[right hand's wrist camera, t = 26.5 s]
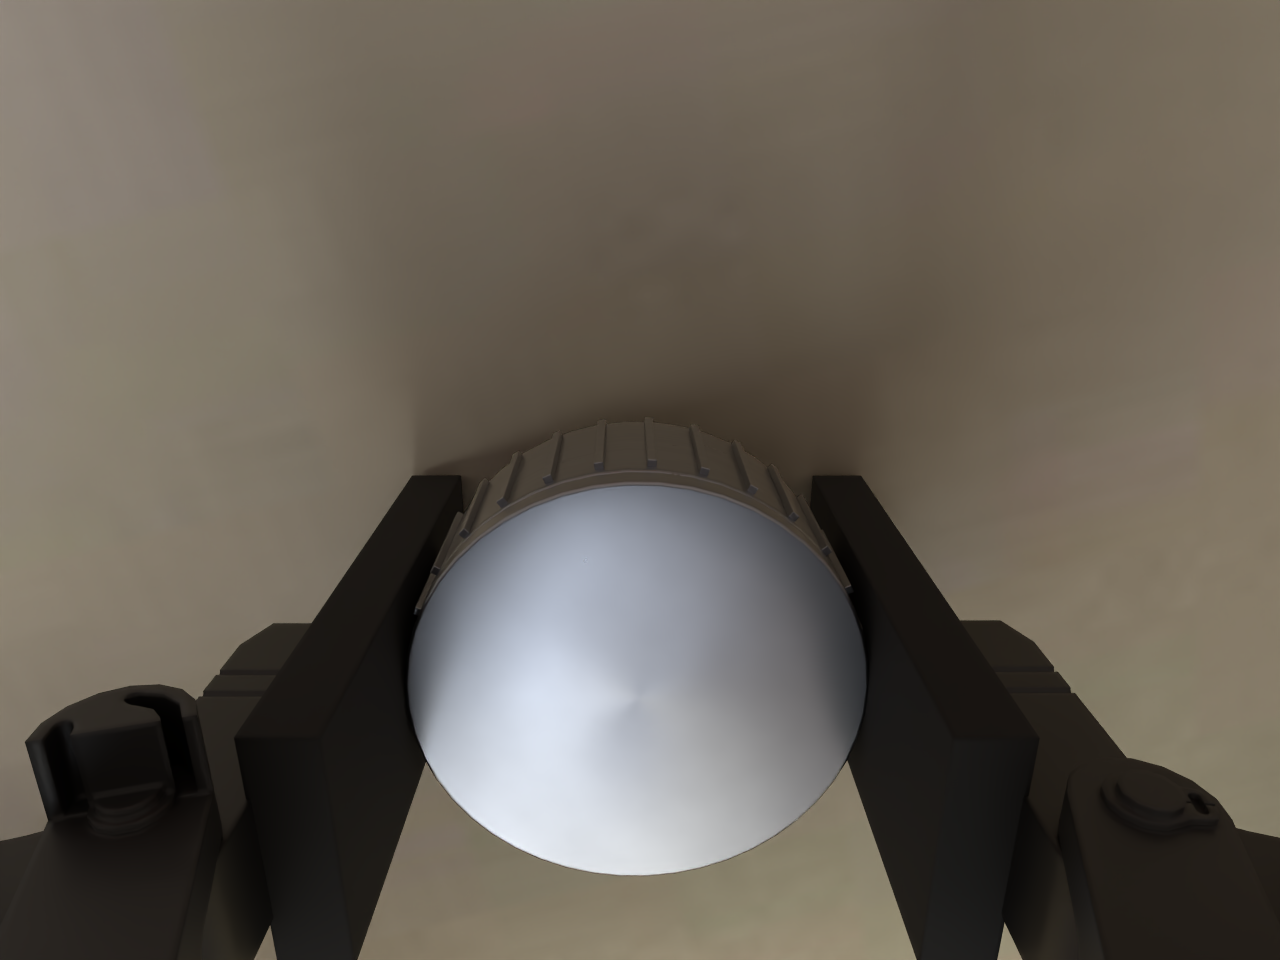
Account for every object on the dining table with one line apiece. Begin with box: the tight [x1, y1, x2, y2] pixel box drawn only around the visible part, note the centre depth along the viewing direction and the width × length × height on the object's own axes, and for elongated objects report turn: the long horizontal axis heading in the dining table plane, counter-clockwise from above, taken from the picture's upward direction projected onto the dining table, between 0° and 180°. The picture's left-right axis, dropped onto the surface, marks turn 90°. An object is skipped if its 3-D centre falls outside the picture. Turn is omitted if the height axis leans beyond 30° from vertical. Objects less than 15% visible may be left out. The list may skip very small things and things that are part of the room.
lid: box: [405, 417, 869, 876], centre depth 12 cm, size 6×6×2 cm
